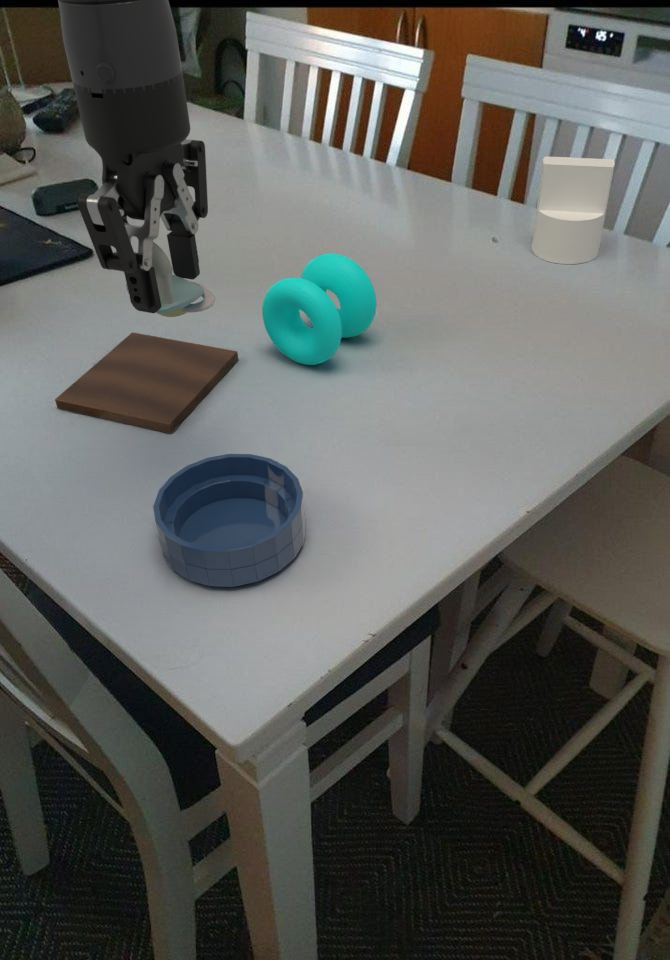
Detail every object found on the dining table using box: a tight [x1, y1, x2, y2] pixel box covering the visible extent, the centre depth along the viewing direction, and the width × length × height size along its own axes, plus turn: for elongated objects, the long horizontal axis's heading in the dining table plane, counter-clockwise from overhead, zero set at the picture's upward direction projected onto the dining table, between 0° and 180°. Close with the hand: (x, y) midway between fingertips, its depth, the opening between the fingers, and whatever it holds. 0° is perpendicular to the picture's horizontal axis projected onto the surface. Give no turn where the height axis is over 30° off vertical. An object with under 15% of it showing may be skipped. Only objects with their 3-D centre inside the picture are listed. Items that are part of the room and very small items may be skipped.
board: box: [54, 332, 239, 435], centre depth 89 cm, size 15×14×1 cm
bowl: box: [152, 453, 307, 588], centre depth 68 cm, size 12×12×4 cm
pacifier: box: [125, 241, 216, 318], centre depth 66 cm, size 7×6×6 cm
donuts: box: [261, 252, 377, 366], centre depth 91 cm, size 10×10×10 cm
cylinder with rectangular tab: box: [531, 156, 616, 265], centre depth 108 cm, size 9×9×12 cm
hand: (168, 292), depth 67 cm, fingers closed on pacifier, 5 cm apart
